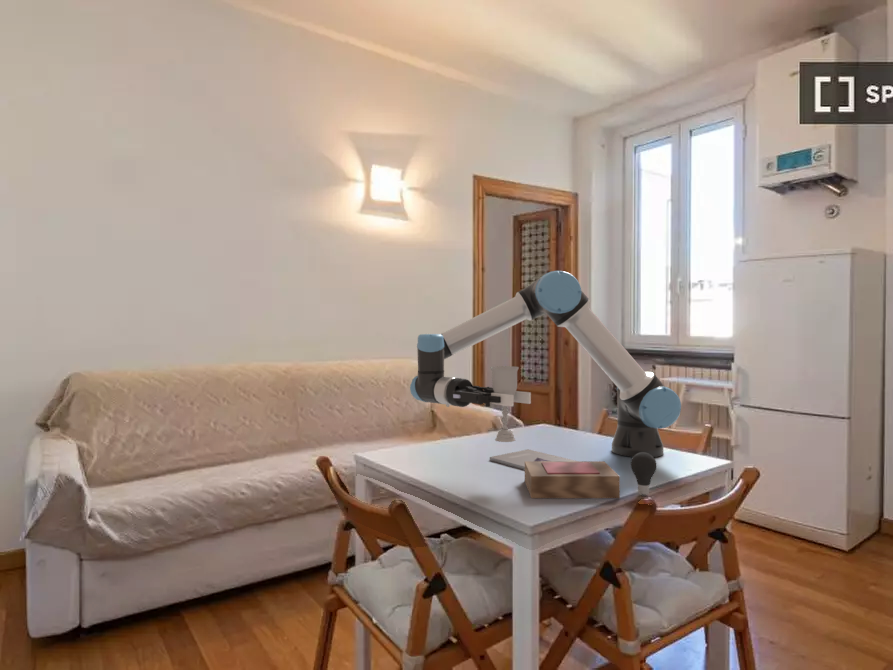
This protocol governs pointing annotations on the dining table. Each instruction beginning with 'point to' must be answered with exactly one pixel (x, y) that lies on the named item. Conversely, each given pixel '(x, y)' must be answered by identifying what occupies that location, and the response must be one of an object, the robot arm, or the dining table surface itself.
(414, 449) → the dining table surface
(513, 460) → the play button award
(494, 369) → the chalice
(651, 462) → the light bulb
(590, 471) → the display stand
